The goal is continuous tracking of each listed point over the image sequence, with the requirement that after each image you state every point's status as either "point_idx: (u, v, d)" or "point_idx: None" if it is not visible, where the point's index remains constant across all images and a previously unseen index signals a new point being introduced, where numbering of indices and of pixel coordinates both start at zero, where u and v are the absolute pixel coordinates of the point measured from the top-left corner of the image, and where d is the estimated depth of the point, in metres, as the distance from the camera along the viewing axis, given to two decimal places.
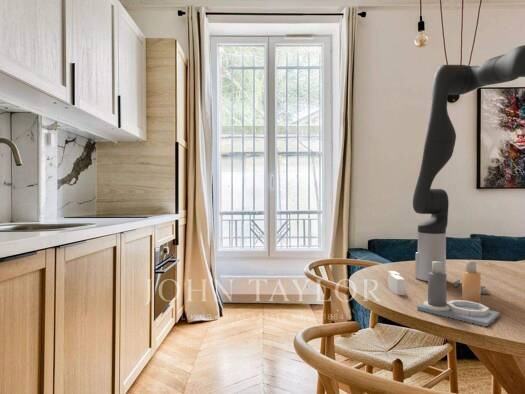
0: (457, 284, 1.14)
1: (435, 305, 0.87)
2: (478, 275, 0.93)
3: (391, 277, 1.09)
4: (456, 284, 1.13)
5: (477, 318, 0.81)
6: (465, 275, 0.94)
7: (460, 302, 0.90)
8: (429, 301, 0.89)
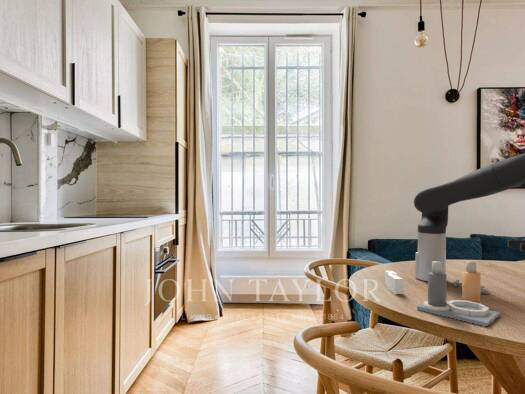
0: (456, 284, 1.14)
1: (435, 305, 0.87)
2: (478, 275, 0.93)
3: (389, 277, 1.09)
4: (455, 284, 1.13)
5: (477, 318, 0.81)
6: (465, 275, 0.94)
7: (460, 302, 0.90)
8: (429, 301, 0.89)
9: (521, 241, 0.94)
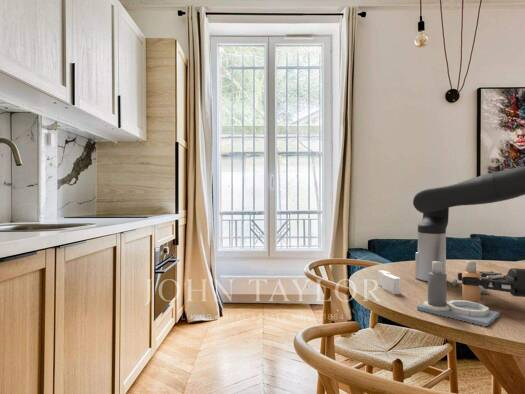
0: None
1: (435, 305, 0.87)
2: (478, 275, 0.93)
3: (384, 277, 1.09)
4: (454, 284, 1.13)
5: (477, 318, 0.81)
6: (465, 275, 0.94)
7: (460, 302, 0.90)
8: (429, 301, 0.89)
9: None
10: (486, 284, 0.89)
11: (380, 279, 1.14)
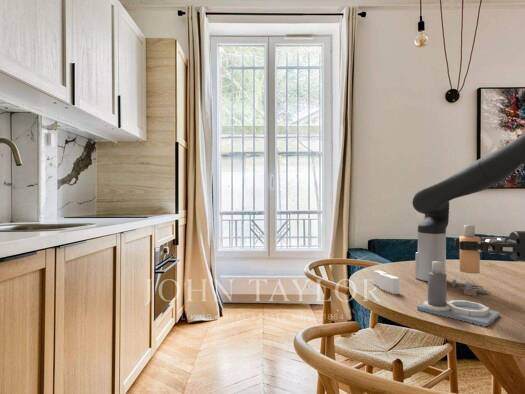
0: None
1: (435, 305, 0.87)
2: (477, 239, 0.85)
3: (382, 277, 1.09)
4: (454, 284, 1.13)
5: (477, 318, 0.81)
6: (462, 240, 0.86)
7: (460, 302, 0.90)
8: (429, 301, 0.89)
9: None
10: (486, 247, 0.81)
11: (376, 279, 1.14)
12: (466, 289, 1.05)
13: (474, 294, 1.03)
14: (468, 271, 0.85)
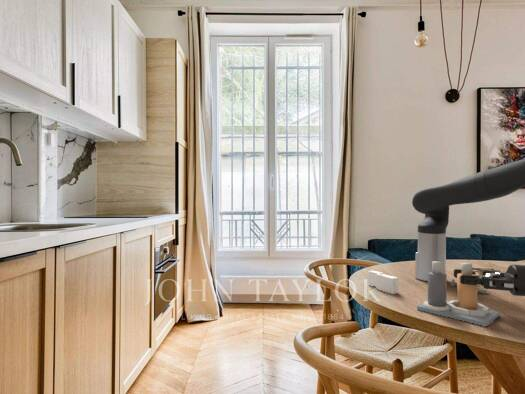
0: (453, 284, 1.14)
1: (435, 305, 0.87)
2: None
3: (380, 277, 1.09)
4: (453, 284, 1.13)
5: (477, 318, 0.81)
6: None
7: None
8: (429, 301, 0.89)
9: None
10: (487, 283, 0.80)
11: (372, 279, 1.14)
12: None
13: None
14: None
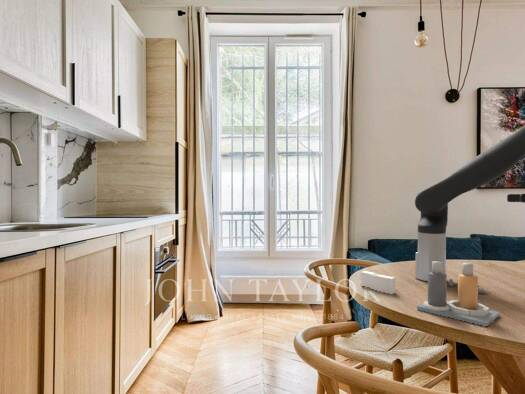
0: None
1: (435, 305, 0.87)
2: (475, 278, 0.85)
3: (376, 277, 1.08)
4: (451, 284, 1.13)
5: (477, 318, 0.81)
6: (461, 278, 0.86)
7: None
8: (429, 301, 0.89)
9: None
10: None
11: (365, 280, 1.12)
12: None
13: None
14: None
